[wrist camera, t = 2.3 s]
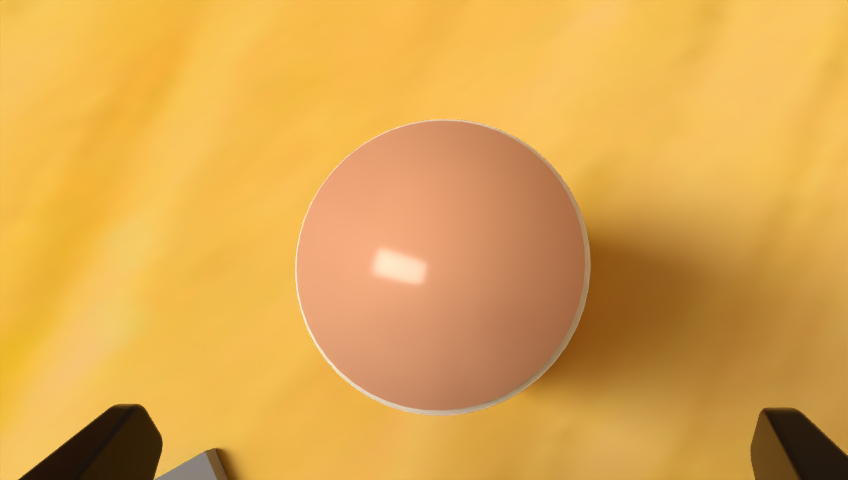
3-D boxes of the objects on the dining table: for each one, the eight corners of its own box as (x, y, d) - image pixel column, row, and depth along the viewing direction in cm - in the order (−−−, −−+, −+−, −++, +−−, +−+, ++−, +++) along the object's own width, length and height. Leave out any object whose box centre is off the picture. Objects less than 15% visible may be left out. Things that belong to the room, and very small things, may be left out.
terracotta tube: (591, 352, 18) (642, 358, 9) (431, 405, 19) (338, 458, 10) (531, 196, 19) (526, 71, 10) (381, 251, 20) (258, 176, 11)
